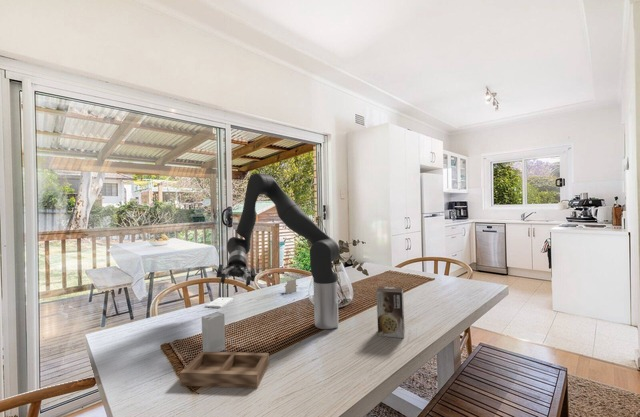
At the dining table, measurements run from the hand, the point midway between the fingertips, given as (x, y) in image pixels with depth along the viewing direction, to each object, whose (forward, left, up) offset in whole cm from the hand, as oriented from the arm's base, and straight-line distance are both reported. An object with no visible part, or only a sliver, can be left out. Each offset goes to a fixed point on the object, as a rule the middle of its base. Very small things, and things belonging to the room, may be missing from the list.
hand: (235, 283), depth 110 cm
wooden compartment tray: (-7, +25, -19) cm, 32 cm away
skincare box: (+3, +12, -20) cm, 23 cm away
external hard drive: (+23, -36, -20) cm, 47 cm away
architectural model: (-9, -55, -20) cm, 59 cm away
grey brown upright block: (-56, -4, -20) cm, 59 cm away
